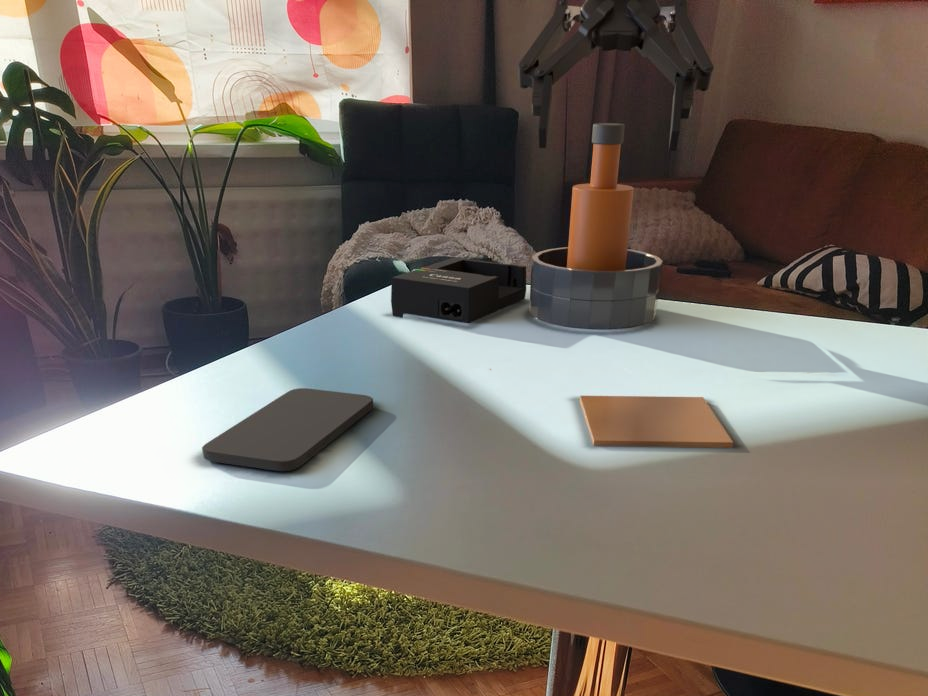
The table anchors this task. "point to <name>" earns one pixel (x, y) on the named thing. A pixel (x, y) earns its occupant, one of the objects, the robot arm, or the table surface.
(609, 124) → the bottle
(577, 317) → the pot
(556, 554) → the table surface
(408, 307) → the battery charger
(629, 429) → the cork mat
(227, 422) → the table surface
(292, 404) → the phone
